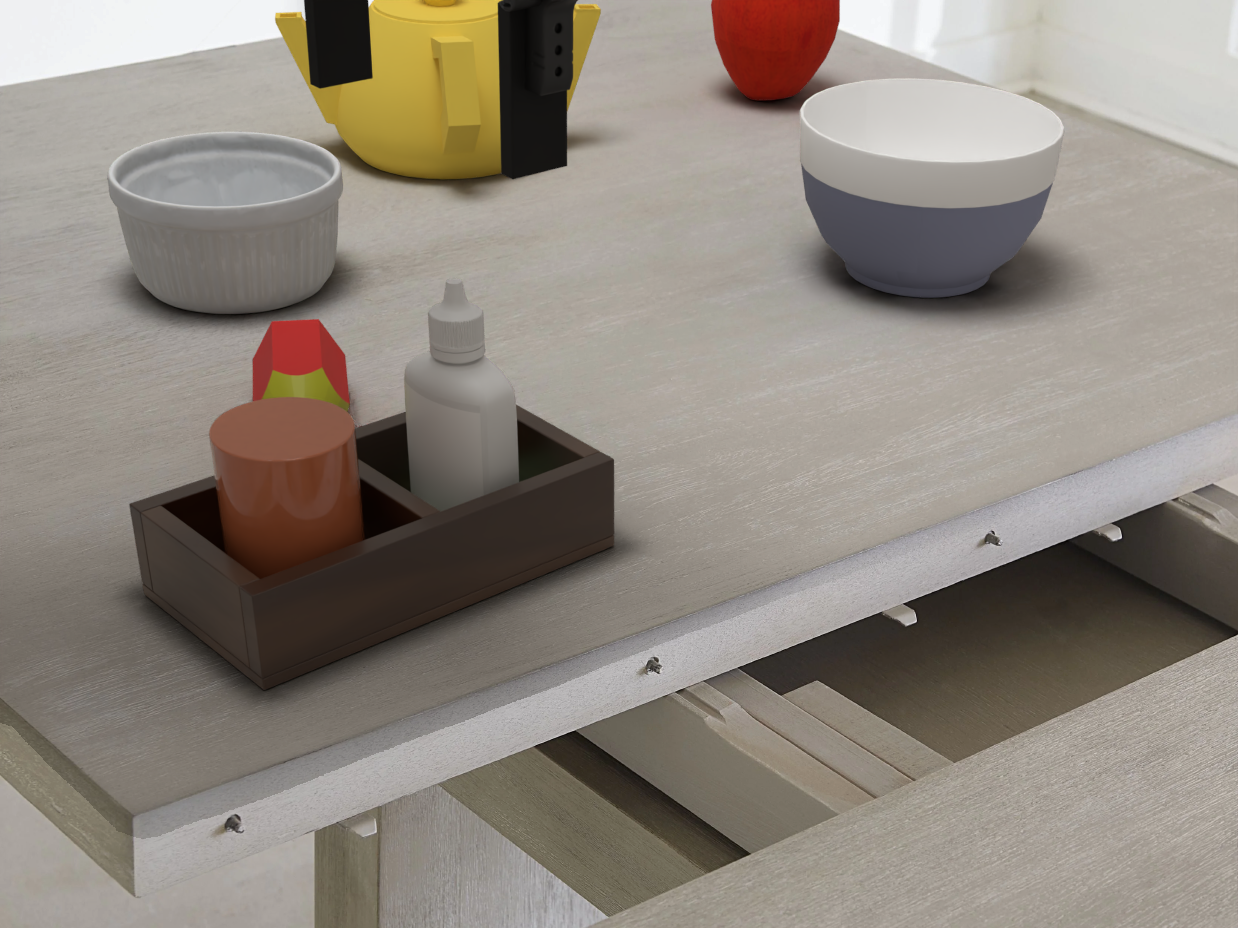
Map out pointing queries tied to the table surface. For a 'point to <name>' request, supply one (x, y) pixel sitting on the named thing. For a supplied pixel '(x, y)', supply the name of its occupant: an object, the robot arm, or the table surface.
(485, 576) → the divided wooden box
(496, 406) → the eye dropper bottle
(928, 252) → the bowl
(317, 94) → the teapot
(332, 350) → the pencil
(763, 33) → the apple
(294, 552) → the glossy orange cylinder
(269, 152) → the ramekin
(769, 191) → the table surface
